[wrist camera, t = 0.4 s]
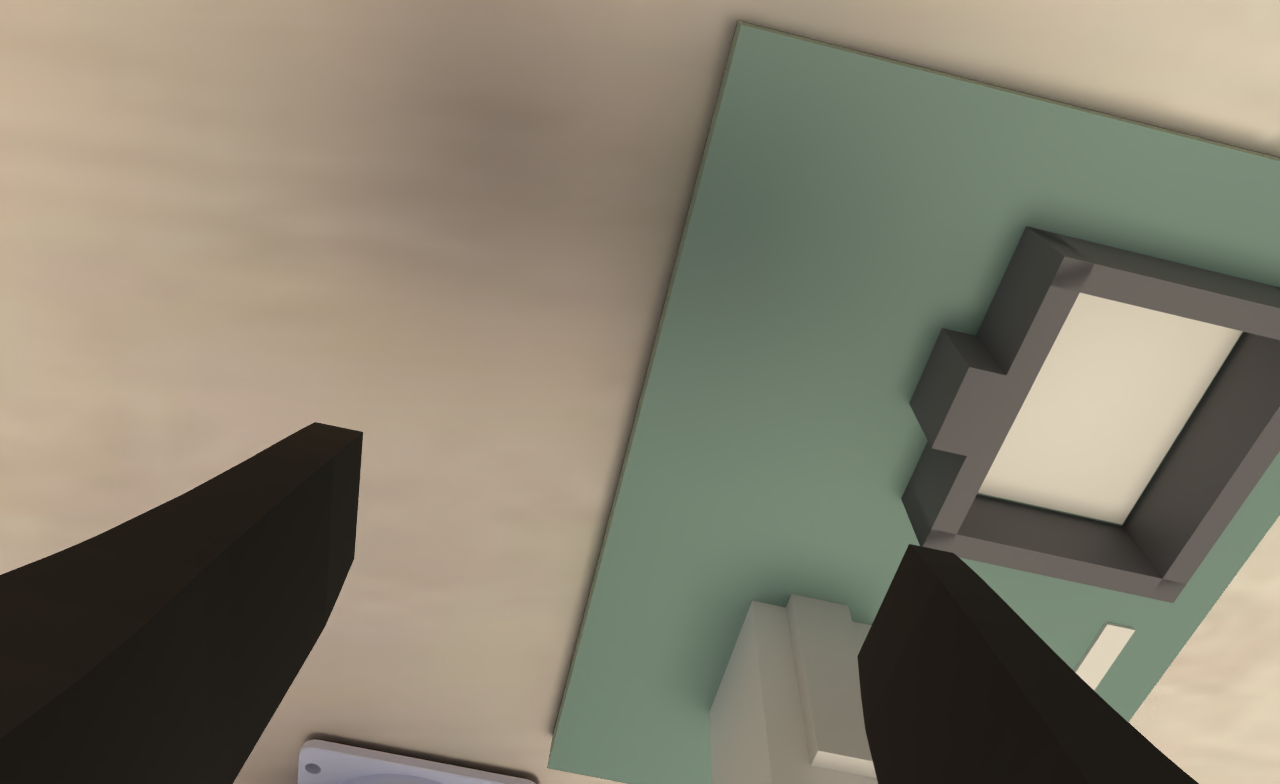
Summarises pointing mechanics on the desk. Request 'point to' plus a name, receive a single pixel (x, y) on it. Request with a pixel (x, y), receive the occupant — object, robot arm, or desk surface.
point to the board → (933, 385)
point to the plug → (792, 699)
